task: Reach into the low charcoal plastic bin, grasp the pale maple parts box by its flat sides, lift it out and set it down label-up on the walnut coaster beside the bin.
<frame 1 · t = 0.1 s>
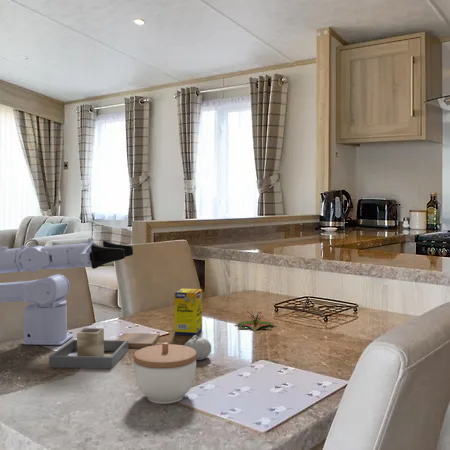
hand: (128, 252, 122), 22 cm above the table, tool horizontal, fingers open, 7 cm apart
bin: (90, 358, 111), on the table
supplement box: (188, 333, 133), on the table
garlic: (198, 359, 110), on the table
coaster: (137, 342, 123), on the table
lidded jar: (165, 398, 89), on the table
parts box: (90, 344, 111), in the bin
lily flower: (255, 328, 140), on the table
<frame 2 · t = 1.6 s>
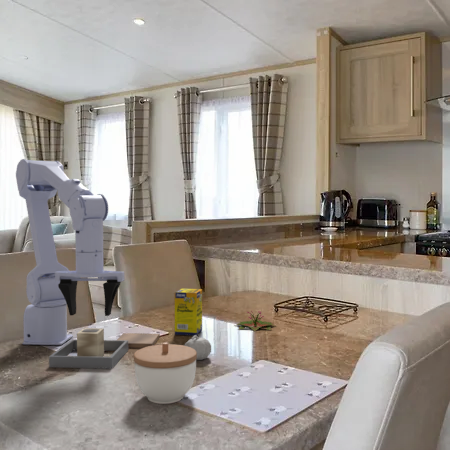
hand: (90, 314, 111), 9 cm above the table, tool pointing down, fingers open, 7 cm apart
nothing on the table moved.
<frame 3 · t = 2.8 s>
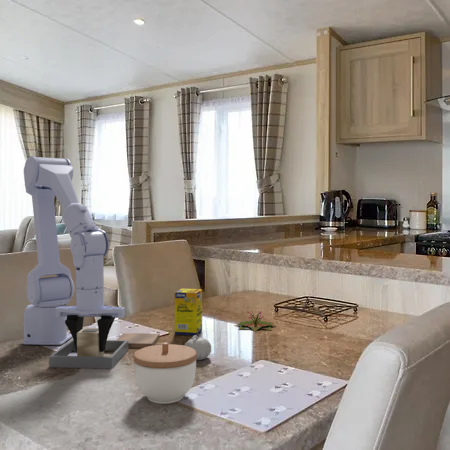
hand: (90, 350, 111), 2 cm above the table, tool pointing down, fingers closed on parts box, 4 cm apart
parts box: (90, 344, 111), in the bin, touching gripper
everything else where it was.
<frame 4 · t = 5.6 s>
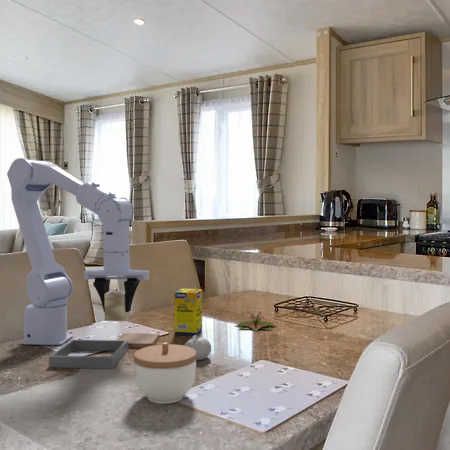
hand: (117, 311, 117), 9 cm above the table, tool pointing down, fingers closed on parts box, 4 cm apart
parts box: (117, 305, 117), point 10 cm above the table, touching gripper
everything else where it was.
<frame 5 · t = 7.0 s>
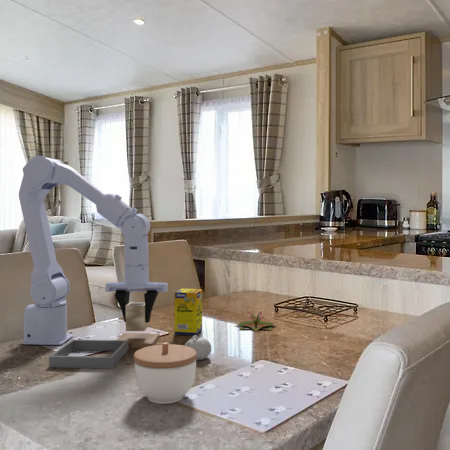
hand: (137, 321, 123), 5 cm above the table, tool pointing down, fingers closed on parts box, 4 cm apart
parts box: (137, 316, 123), point 6 cm above the table, touching gripper
everything else where it was.
when the fingers open (4 cm above the table, at t = 8.1 s): parts box drops 1 cm, resting on coaster.
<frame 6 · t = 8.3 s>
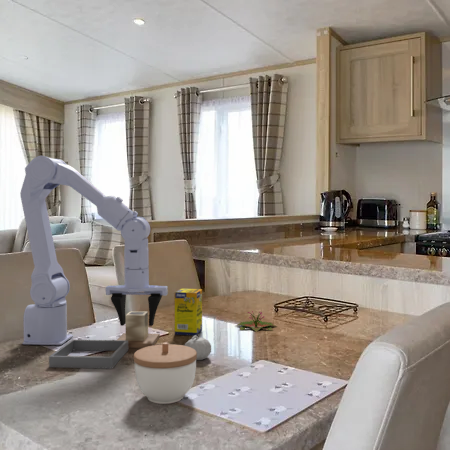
hand: (137, 324, 123), 4 cm above the table, tool pointing down, fingers open, 6 cm apart
parts box: (137, 325, 123), on the coaster, point 4 cm above the table
everything else where it was.
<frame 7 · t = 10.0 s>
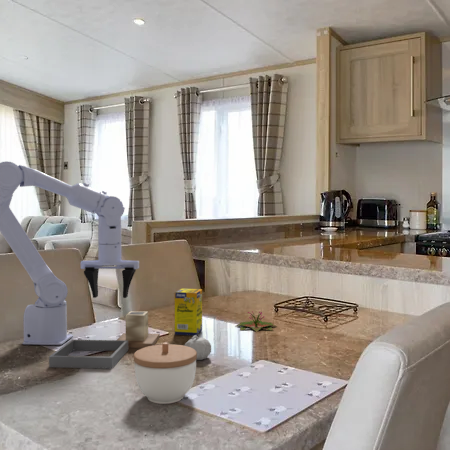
hand: (110, 297, 131), 9 cm above the table, tool pointing down, fingers open, 7 cm apart
nothing on the table moved.
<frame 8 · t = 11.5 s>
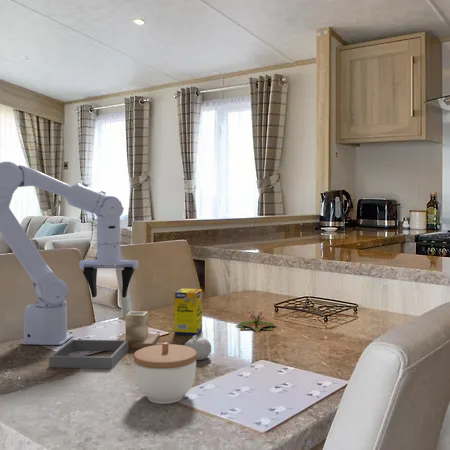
hand: (109, 296, 132), 9 cm above the table, tool pointing down, fingers open, 7 cm apart
nothing on the table moved.
at the end: parts box inside the target area on the coaster (0.0 cm from its centre), point 4.0 cm above the coaster's base; parts box tilted 0°; the gripper is holding nothing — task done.
